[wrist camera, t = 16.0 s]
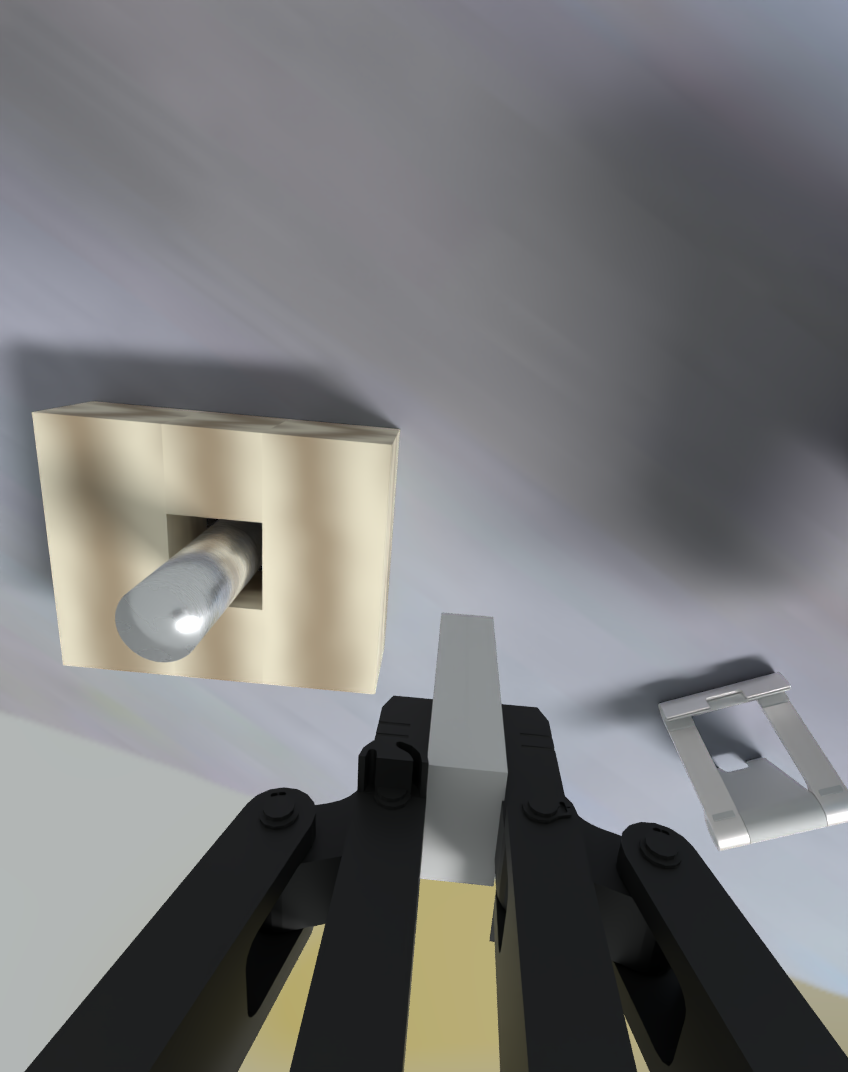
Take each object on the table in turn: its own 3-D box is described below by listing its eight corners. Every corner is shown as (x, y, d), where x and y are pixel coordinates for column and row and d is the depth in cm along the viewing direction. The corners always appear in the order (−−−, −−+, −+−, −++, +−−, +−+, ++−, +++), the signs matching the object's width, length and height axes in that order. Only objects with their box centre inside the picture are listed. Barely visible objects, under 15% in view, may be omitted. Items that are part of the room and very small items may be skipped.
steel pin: (279, 507, 40) (198, 589, 27) (279, 561, 42) (201, 666, 28) (221, 501, 40) (111, 581, 27) (222, 556, 42) (118, 658, 28)
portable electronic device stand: (774, 666, 43) (848, 741, 35) (790, 752, 45) (863, 840, 37) (655, 697, 44) (702, 776, 36) (677, 780, 46) (725, 871, 38)
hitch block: (399, 429, 38) (392, 444, 33) (384, 647, 43) (375, 694, 38) (93, 401, 38) (31, 412, 33) (113, 622, 43) (63, 665, 38)
